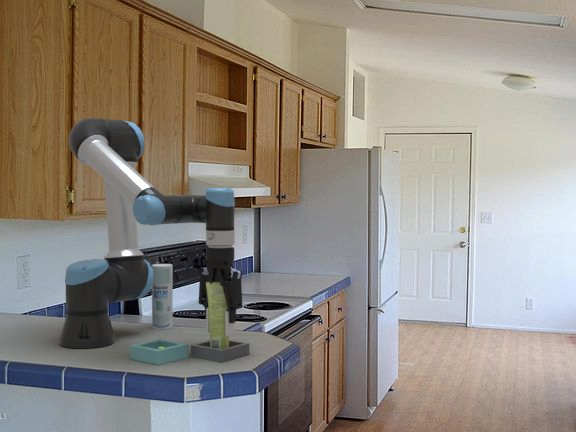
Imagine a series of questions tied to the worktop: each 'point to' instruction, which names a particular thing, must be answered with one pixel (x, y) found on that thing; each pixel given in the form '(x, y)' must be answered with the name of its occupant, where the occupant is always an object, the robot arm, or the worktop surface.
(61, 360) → the worktop surface
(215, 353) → the gray square frame
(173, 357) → the block
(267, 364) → the worktop surface
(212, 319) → the tube
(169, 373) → the worktop surface
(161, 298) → the spray can
